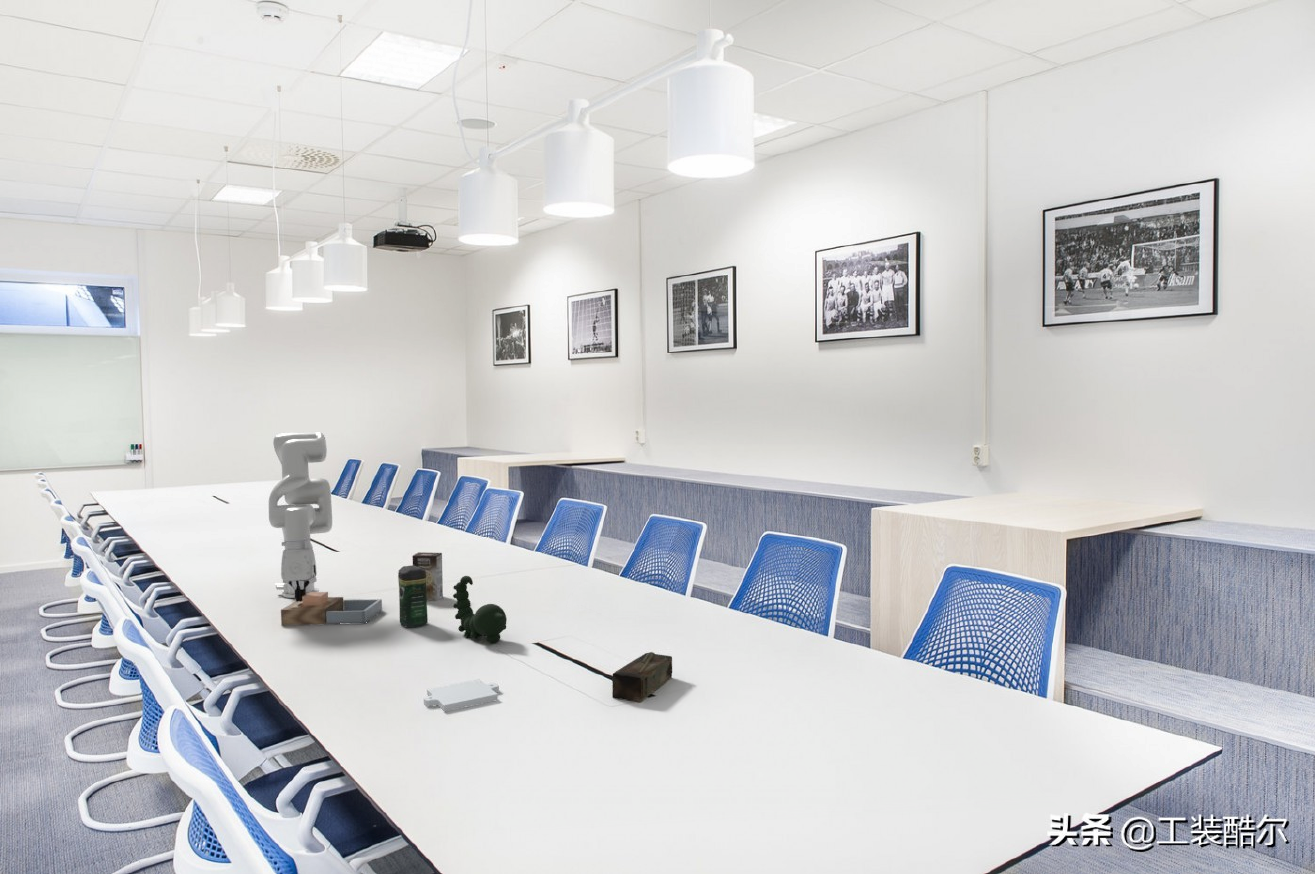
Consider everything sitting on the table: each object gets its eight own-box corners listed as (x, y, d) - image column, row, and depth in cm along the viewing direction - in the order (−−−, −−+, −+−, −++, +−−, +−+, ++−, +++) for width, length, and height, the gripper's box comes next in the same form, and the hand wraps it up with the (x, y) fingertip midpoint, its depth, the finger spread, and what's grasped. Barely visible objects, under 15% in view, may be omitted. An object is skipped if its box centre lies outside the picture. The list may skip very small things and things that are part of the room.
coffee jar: (431, 625, 271) (429, 567, 270) (406, 629, 267) (403, 570, 266) (421, 619, 279) (419, 562, 278) (397, 623, 275) (394, 565, 274)
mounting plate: (488, 684, 216) (488, 676, 216) (507, 699, 205) (507, 691, 205) (416, 699, 206) (416, 691, 206) (432, 715, 195) (432, 707, 195)
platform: (281, 625, 275) (280, 609, 275) (302, 612, 291) (301, 597, 291) (325, 624, 275) (324, 608, 275) (343, 611, 291) (343, 596, 291)
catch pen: (325, 624, 275) (324, 611, 275) (343, 611, 291) (343, 599, 291) (365, 623, 275) (365, 611, 275) (382, 610, 291) (381, 599, 291)
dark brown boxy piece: (674, 678, 217) (673, 652, 216) (641, 704, 199) (640, 676, 199) (645, 674, 220) (645, 649, 220) (610, 700, 203) (610, 672, 202)
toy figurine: (448, 639, 261) (492, 649, 242) (443, 577, 261) (486, 582, 243) (475, 633, 267) (520, 642, 249) (470, 572, 267) (515, 576, 249)
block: (302, 605, 280) (302, 596, 280) (310, 601, 286) (309, 592, 286) (321, 605, 280) (320, 596, 280) (328, 600, 286) (327, 591, 286)
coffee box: (412, 600, 305) (410, 555, 304) (419, 596, 311) (417, 552, 311) (437, 600, 304) (436, 555, 303) (444, 596, 310) (442, 552, 310)
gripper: (270, 547, 278) (272, 603, 279) (316, 546, 278) (318, 602, 279) (280, 543, 286) (283, 598, 287) (325, 542, 285) (327, 597, 286)
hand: (300, 600), depth 283 cm, fingers closed
